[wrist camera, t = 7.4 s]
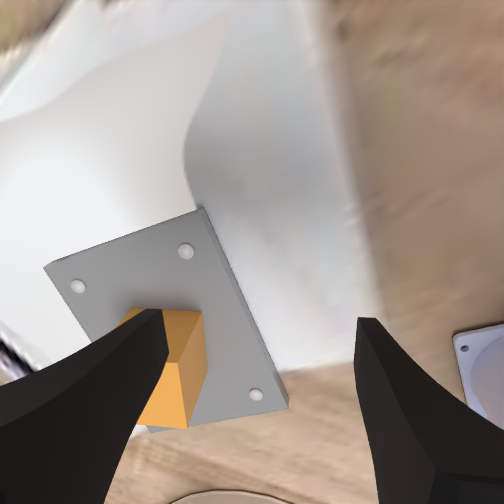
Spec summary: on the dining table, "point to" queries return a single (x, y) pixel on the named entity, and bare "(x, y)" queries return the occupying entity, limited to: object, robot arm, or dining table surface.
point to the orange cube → (177, 370)
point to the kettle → (228, 498)
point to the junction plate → (178, 307)
